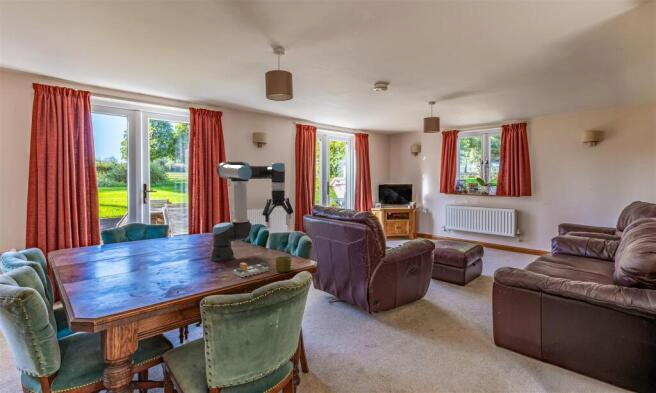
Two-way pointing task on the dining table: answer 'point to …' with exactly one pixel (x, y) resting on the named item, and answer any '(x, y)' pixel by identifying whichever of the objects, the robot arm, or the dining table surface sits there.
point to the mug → (283, 264)
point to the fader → (243, 266)
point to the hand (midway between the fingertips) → (278, 226)
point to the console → (251, 270)
